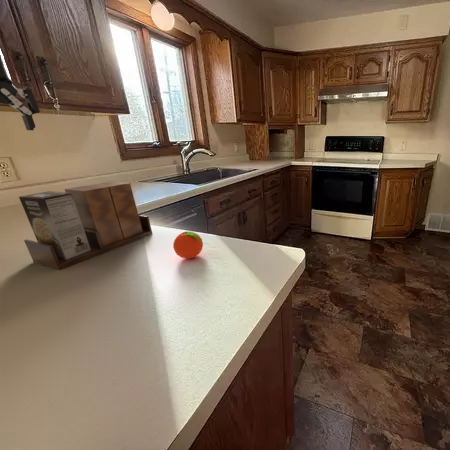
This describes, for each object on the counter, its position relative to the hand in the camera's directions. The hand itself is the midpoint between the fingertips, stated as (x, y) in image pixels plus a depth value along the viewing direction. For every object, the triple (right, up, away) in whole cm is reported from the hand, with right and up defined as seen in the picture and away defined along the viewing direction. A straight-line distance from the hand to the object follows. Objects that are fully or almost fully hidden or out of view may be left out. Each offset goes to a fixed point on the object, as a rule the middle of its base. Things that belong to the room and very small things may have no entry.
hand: (8, 129), depth 63 cm
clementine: (+47, -33, +1) cm, 58 cm away
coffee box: (+13, -32, +2) cm, 35 cm away
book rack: (+16, -31, +9) cm, 36 cm away
